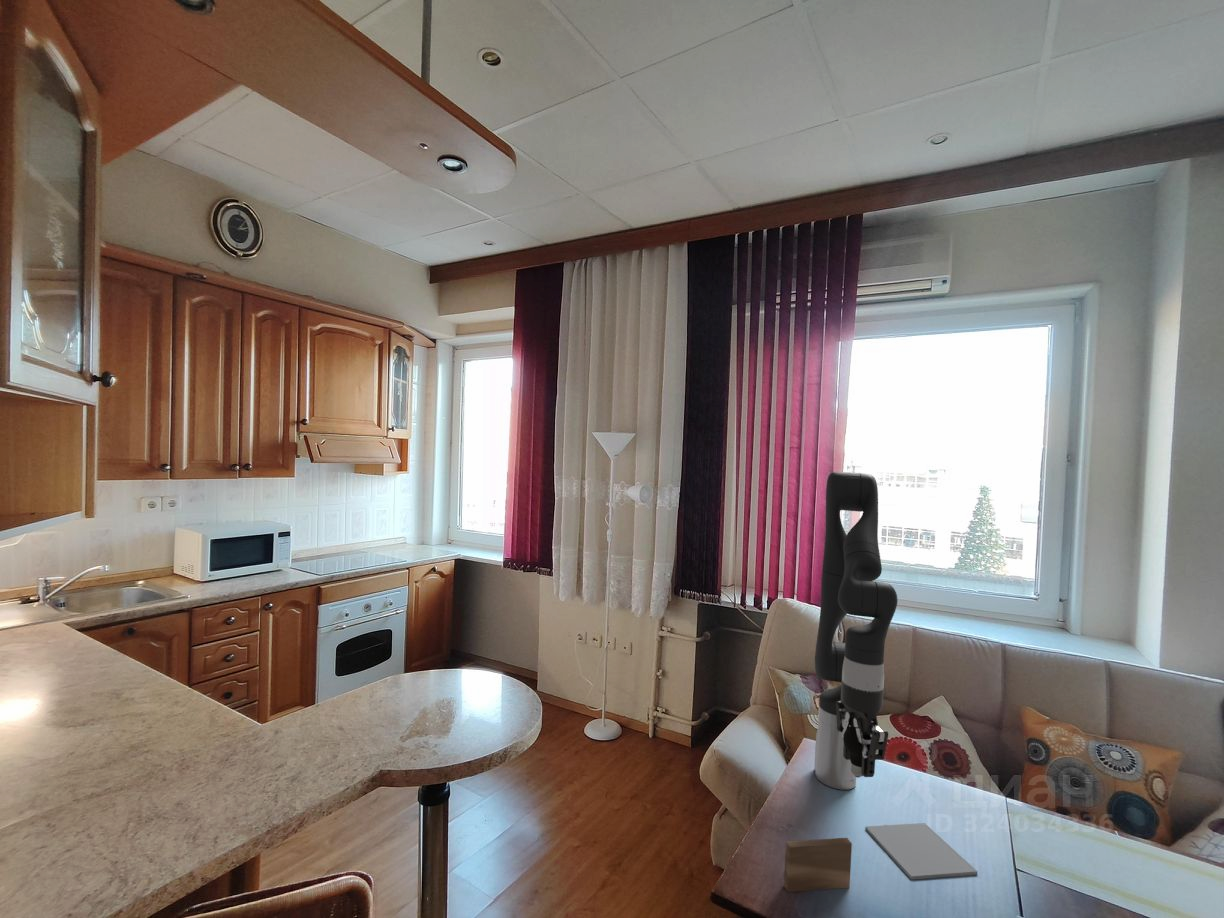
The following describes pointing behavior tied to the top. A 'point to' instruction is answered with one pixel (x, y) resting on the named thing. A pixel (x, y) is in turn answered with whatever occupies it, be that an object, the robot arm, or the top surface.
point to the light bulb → (854, 750)
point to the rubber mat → (920, 851)
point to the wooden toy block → (817, 864)
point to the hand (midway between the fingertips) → (857, 766)
